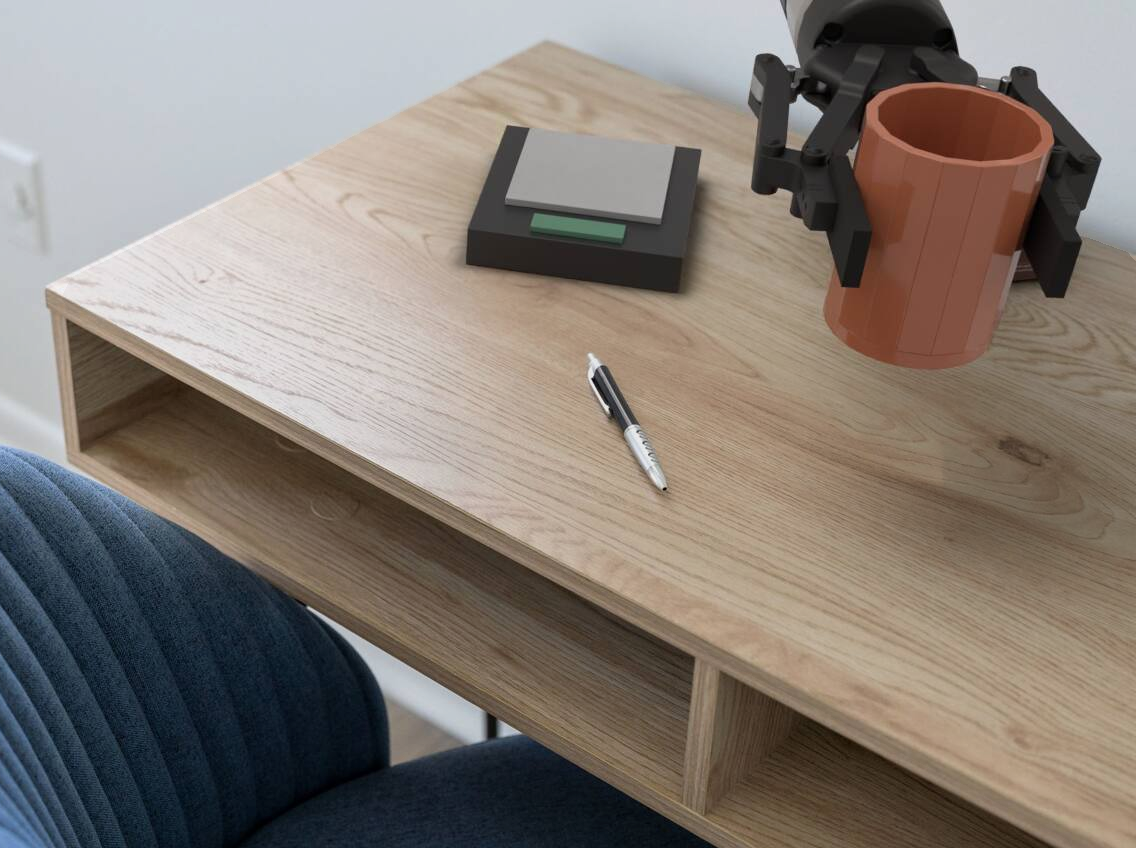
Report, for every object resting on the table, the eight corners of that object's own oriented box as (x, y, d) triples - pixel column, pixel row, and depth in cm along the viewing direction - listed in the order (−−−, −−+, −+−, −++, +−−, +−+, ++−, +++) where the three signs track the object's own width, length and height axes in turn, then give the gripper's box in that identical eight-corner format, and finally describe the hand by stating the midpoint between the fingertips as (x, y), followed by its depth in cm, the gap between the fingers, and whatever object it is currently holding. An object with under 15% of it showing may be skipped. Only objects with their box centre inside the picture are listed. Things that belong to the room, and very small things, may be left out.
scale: (696, 182, 108) (703, 141, 106) (678, 293, 97) (684, 250, 95) (504, 158, 110) (507, 117, 108) (465, 264, 99) (467, 221, 97)
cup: (987, 289, 76) (1045, 93, 70) (997, 380, 71) (1061, 176, 64) (823, 268, 77) (866, 73, 71) (821, 356, 72) (867, 152, 65)
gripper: (1048, 109, 86) (1183, 353, 69) (661, 91, 87) (696, 328, 69) (1089, -28, 82) (1245, 196, 64) (679, -46, 82) (722, 170, 64)
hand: (960, 264), depth 67 cm, fingers closed on cup, 8 cm apart
